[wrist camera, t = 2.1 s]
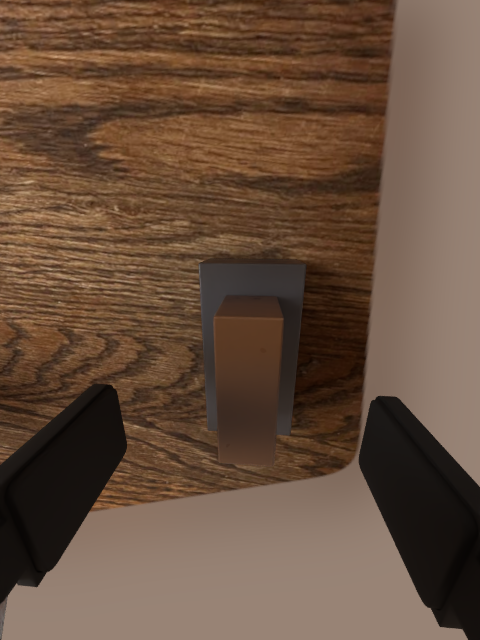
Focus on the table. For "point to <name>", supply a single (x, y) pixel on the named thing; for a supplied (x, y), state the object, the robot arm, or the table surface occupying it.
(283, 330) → the eraser
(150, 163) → the table surface
